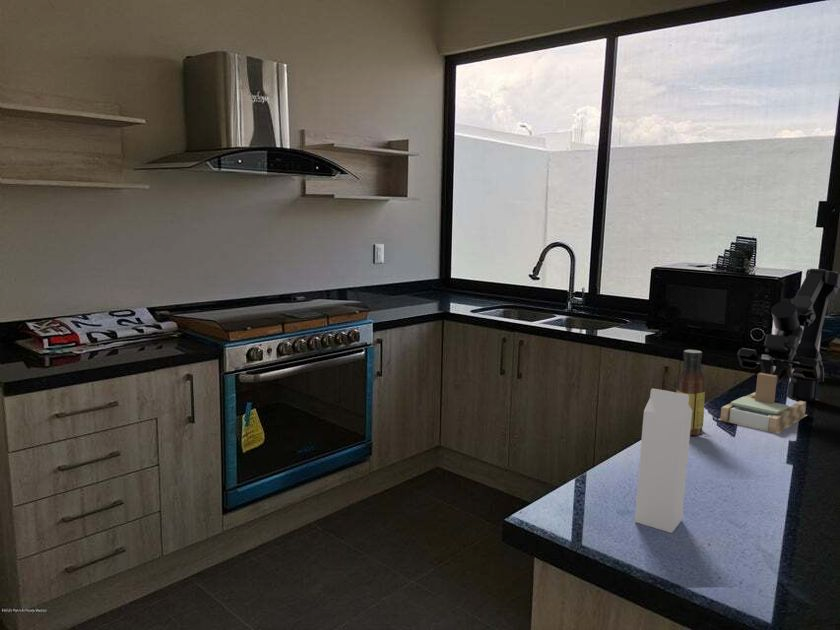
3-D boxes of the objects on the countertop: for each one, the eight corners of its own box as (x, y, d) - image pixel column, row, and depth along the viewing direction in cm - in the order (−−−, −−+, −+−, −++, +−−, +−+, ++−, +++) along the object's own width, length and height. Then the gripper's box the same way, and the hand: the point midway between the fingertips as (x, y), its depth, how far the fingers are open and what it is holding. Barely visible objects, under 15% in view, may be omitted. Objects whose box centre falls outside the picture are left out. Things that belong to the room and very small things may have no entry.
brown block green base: (743, 398, 167) (746, 370, 166) (788, 407, 160) (792, 378, 159) (730, 404, 161) (733, 375, 160) (777, 414, 154) (780, 383, 152)
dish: (742, 414, 166) (743, 402, 165) (780, 422, 159) (781, 410, 159) (729, 421, 159) (730, 408, 159) (768, 430, 153) (769, 417, 153)
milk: (645, 510, 109) (656, 384, 106) (682, 520, 105) (694, 391, 102) (634, 522, 104) (644, 391, 101) (672, 534, 100) (684, 398, 97)
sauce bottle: (697, 429, 155) (704, 349, 152) (706, 437, 148) (714, 354, 146) (669, 427, 155) (676, 347, 152) (677, 435, 149) (684, 352, 146)
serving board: (750, 406, 177) (752, 391, 177) (807, 417, 167) (809, 402, 167) (717, 422, 161) (718, 406, 160) (777, 436, 151) (779, 419, 150)
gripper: (743, 318, 171) (723, 363, 165) (822, 327, 158) (804, 377, 152) (750, 344, 178) (731, 388, 172) (827, 355, 165) (809, 403, 158)
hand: (767, 388), depth 163 cm, fingers closed, pressing on brown block green base
